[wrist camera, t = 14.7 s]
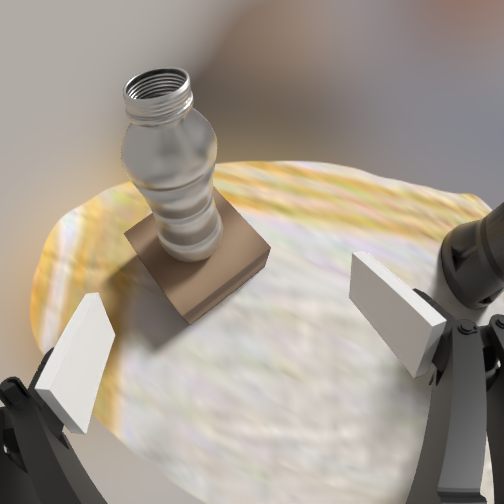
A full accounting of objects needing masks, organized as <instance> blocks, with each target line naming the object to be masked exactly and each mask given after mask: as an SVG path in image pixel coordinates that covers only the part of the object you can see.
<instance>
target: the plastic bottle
mask: <svg viewBox="0 0 504 504" xmlns="http://www.w3.org/2000/svg"><path fill="white" fill-rule="evenodd" d="M123 96H124V100H125V104H126V114H127V117H128V119H129V121H130V122H131V123H130V125H129V127H128V129H127V131H126V133H125V136H124V138H123V141H122V145H121V161H122V166H123V168H124V170H125V172H126V173H127V175H128V177H129V178H130V179H131V181H132V182H133V184H134V185H135V186H136V188H137V189H138V190H139V191H140V193H141V194H142V195H143V197H144V198H145V200H146V201H147V203H148V205H149V207H150V208H151V210H152V212H153V215H154V218H155V221H156V224H157V233H158V237H159V241H160V244H161V245H162V247H163V249H164V250H165V251H166V252H167V253H168V254H170V255H171V256H172V257H174V258H175V259H177V260H179V261H183V262H198V261H201V260H204V259H206V258H208V257H209V256H211V255H212V254H213V253H214V252H215V251H216V250H217V248H218V246H219V244H220V242H221V238H222V235H223V224H222V220H221V217H220V215H219V212H218V210H217V209H216V205H215V201H214V197H213V175H214V168H215V161H216V154H217V139H216V135H215V133H214V131H213V129H212V127H211V125H210V123H209V122H208V121H207V120H206V119H205V118H204V117H203V116H202V115H201V114H200V113H199V112H198V111H196V110H195V109H194V108H192V106H193V94H192V92H191V89H190V78H189V75H188V73H187V72H186V71H185V70H183V69H181V68H177V67H159V68H153V69H150V70H147V71H144V72H142V73H140V74H138V75H136V76H134V77H133V78H131V79H130V80H129V81H128V82H127V83H126V85H125V86H124V89H123Z"/></svg>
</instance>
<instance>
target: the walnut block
mask: <svg viewBox="0 0 504 504" xmlns="http://www.w3.org/2000/svg"><path fill="white" fill-rule="evenodd" d="M213 197H214V201H215V205H216V209H217V210H218V212H219V215H220V217H221V220H222V224H223V235H222V238H221V242H220V244H219V246H218V248H217V250H216V251H215V252H214V253H213V254H212V255H211V256H209V257H208V258H206V259H204V260H201V261H198V262H183V261H179V260H177V259H175V258H174V257H172V256H171V255H170V254H168V253H167V252H166V251H165V250H164V249H163V247H162V245H161V244H160V241H159V237H158V233H157V224H156V221H155V218H154V215H153V213H152V214H150V215H149V216H147V217H146V218H144V219H143V220H142V221H140V222H139V223H137V224H136V225H135V226H133V227H132V228H130V229H129V230H128V231H126V232H125V233H124V235H125V236H126V238H127V239H128V241H129V242H130V244H131V245H132V247H133V248H134V250H135V251H136V253H137V254H138V256H139V257H140V259H141V260H142V262H143V263H144V265H145V266H146V268H147V269H148V271H149V272H150V274H151V275H152V276H153V278H154V279H155V281H156V282H157V283H158V285H159V286H160V288H161V289H162V290H163V292H164V293H165V295H166V296H167V297H168V299H169V300H170V301H171V303H172V304H173V305H174V307H175V308H176V309H177V311H178V312H179V313H180V315H181V316H182V317H183V318H184V319H185V320H186V321H187V322H188V323H189V324H190V325H191V324H192V323H193V322H195V321H196V320H197V319H199V318H200V317H201V316H202V315H204V314H205V313H206V312H208V311H209V310H210V309H211V308H213V307H214V306H215V305H217V304H218V303H219V302H220V301H222V300H223V299H224V298H225V297H227V296H228V295H229V294H231V293H232V292H233V291H234V290H236V289H237V288H238V287H239V286H241V285H242V284H243V283H244V282H246V281H247V280H248V279H250V278H251V277H252V276H253V275H255V274H256V273H257V272H258V271H260V270H261V269H262V268H263V267H265V265H266V261H267V258H268V255H269V252H270V249H271V247H270V246H269V245H268V244H267V243H266V241H265V240H264V239H263V238H262V237H261V236H260V235H259V234H258V233H257V232H256V231H255V230H254V229H253V228H252V226H251V225H250V224H249V223H248V222H247V221H246V220H245V219H244V218H243V217H242V216H241V215H240V214H239V213H238V212H237V211H236V210H235V208H234V207H233V206H232V205H231V204H230V203H229V202H228V201H227V200H226V199H225V198H224V197H223V196H222V195H221V194H220V193H219V192H218V191H217V190H216V189H215V187H214V186H213Z"/></svg>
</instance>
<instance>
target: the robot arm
mask: <svg viewBox="0 0 504 504" xmlns="http://www.w3.org/2000/svg"><path fill="white" fill-rule="evenodd" d="M442 264H443V269H444V273H445V276H446V279H447V282H448V284H449V286H450V288H451V290H452V292H453V293H454V295H455V296H456V297H457V299H458V300H459V301H460V302H461V303H463V304H464V305H465V306H467V307H469V308H472V309H480V308H482V307H485V306H487V305H489V304H491V303H492V302H493V301H494V300H495V299H496V298H497V297H498V296H499V295H500V294H501V293H502V292H503V291H504V202H503V203H502V204H501V205H499V206H498V207H497V208H496V209H494V210H493V211H492V212H491V213H489V214H488V215H487V216H486V217H484V218H483V219H480V220H477V221H473V222H469V223H465V224H461V225H459V226H457V227H455V228H454V229H453V230H452V231H450V232H449V233H448V234H447V236H446V237H445V239H444V242H443V246H442ZM349 298H350V299H351V301H352V302H353V303H354V304H355V305H356V307H357V308H358V309H359V310H360V311H361V313H362V314H363V315H364V316H365V318H366V319H367V320H368V321H369V322H370V324H371V325H372V326H373V327H374V329H375V330H376V331H377V332H378V334H379V335H380V336H381V337H382V339H383V340H384V341H385V342H386V344H387V345H388V346H389V347H390V349H391V350H392V351H393V352H394V354H395V355H396V356H397V358H398V359H399V360H400V361H401V363H402V364H403V365H404V367H405V368H406V369H407V371H408V372H409V373H410V374H411V376H412V377H413V378H416V377H419V376H421V375H423V374H425V373H427V372H428V370H429V367H430V365H431V363H433V364H434V365H435V366H436V369H435V371H434V373H433V375H432V378H431V380H430V382H429V385H431V384H432V382H433V386H432V395H431V402H430V409H429V415H428V421H427V427H426V432H425V437H424V442H423V446H422V450H421V455H420V459H419V463H418V466H417V470H416V474H415V477H414V481H413V484H412V487H411V490H410V493H409V496H408V499H407V502H406V504H487V501H486V498H485V497H484V496H482V495H481V494H480V486H481V480H482V473H483V466H484V457H485V445H486V431H487V437H488V442H489V449H490V455H491V463H492V472H493V483H494V504H504V315H500V314H496V315H493V316H492V317H491V319H490V321H489V324H488V325H486V326H480V327H478V326H477V325H476V324H475V323H473V322H471V321H469V320H465V319H460V320H455V319H454V318H453V317H452V316H451V315H450V314H449V313H448V312H446V311H445V310H444V309H443V308H442V307H441V306H440V305H437V303H436V302H435V301H434V300H432V299H431V298H430V297H429V296H428V295H427V294H425V293H424V292H422V291H420V290H417V289H411V288H410V287H408V286H407V285H406V284H405V283H404V282H403V281H401V280H400V279H399V278H398V277H397V276H395V275H394V274H393V273H392V272H391V271H389V270H388V269H387V268H386V267H384V266H383V265H382V264H381V263H379V262H378V261H377V260H376V259H375V258H373V257H372V256H371V255H369V254H368V253H367V252H366V251H360V252H354V253H352V265H351V280H350V293H349ZM114 338H115V333H114V331H113V328H112V326H111V324H110V321H109V319H108V316H107V314H106V311H105V309H104V306H103V304H102V301H101V298H100V296H99V293H98V292H97V293H90V294H86V295H85V296H84V298H83V300H82V301H81V303H80V304H79V306H78V308H77V309H76V311H75V313H74V314H73V316H72V318H71V319H70V321H69V323H68V325H67V326H66V328H65V330H64V332H63V333H62V335H61V337H60V339H59V341H58V342H57V344H56V346H55V348H51V349H50V350H49V351H48V352H47V353H46V354H45V356H44V358H43V360H42V362H41V364H40V365H39V367H38V371H36V373H35V375H34V377H33V379H32V381H31V384H30V386H29V388H28V390H27V389H26V388H25V386H24V385H23V383H22V382H21V380H20V379H19V378H17V377H10V378H7V379H6V380H4V381H3V382H2V383H1V384H0V400H1V401H2V402H3V403H4V405H5V406H4V407H0V504H107V502H106V501H105V499H104V498H103V497H102V495H101V494H100V493H99V491H98V490H97V488H96V487H95V485H94V484H93V482H92V481H91V479H90V477H89V476H88V474H87V473H86V471H85V469H84V468H83V466H82V464H81V463H80V461H79V459H78V457H77V456H76V454H75V452H74V450H73V448H72V446H71V445H70V443H69V441H68V439H67V437H66V435H65V434H64V433H63V432H62V430H63V426H64V425H65V426H66V428H67V429H68V430H69V431H70V432H71V433H77V434H86V433H87V429H88V425H89V421H90V417H91V413H92V409H93V405H94V402H95V398H96V395H97V391H98V388H99V384H100V381H101V378H102V374H103V371H104V368H105V365H106V362H107V359H108V356H109V353H110V350H111V347H112V344H113V341H114ZM498 361H500V364H501V366H500V367H498V364H497V363H498ZM4 446H5V447H6V448H7V453H5V451H4Z"/></svg>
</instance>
